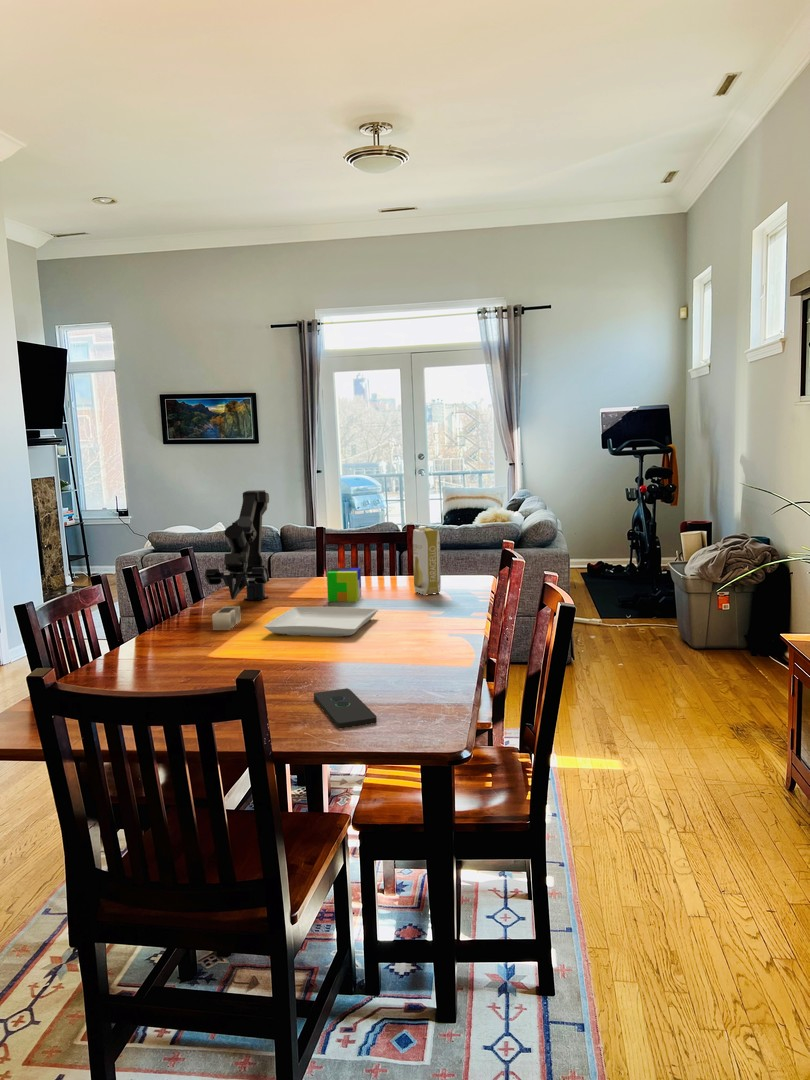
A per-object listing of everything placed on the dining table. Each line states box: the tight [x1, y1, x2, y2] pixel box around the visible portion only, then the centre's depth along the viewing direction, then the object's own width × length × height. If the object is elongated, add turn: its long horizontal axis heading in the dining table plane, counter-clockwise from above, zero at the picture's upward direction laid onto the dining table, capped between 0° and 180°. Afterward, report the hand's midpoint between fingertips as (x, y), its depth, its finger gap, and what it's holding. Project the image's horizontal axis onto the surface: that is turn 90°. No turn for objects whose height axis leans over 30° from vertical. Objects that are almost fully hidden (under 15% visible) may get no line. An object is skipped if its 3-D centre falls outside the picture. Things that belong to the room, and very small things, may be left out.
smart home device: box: [313, 687, 378, 729], centre depth 161 cm, size 8×2×20 cm
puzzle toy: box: [326, 567, 362, 602], centre depth 273 cm, size 10×10×10 cm
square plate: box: [263, 606, 379, 637], centre depth 232 cm, size 27×27×4 cm
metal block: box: [211, 605, 242, 631], centre depth 237 cm, size 5×5×12 cm
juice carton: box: [412, 525, 442, 596], centre depth 277 cm, size 9×8×24 cm
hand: (232, 598), depth 244 cm, fingers closed
